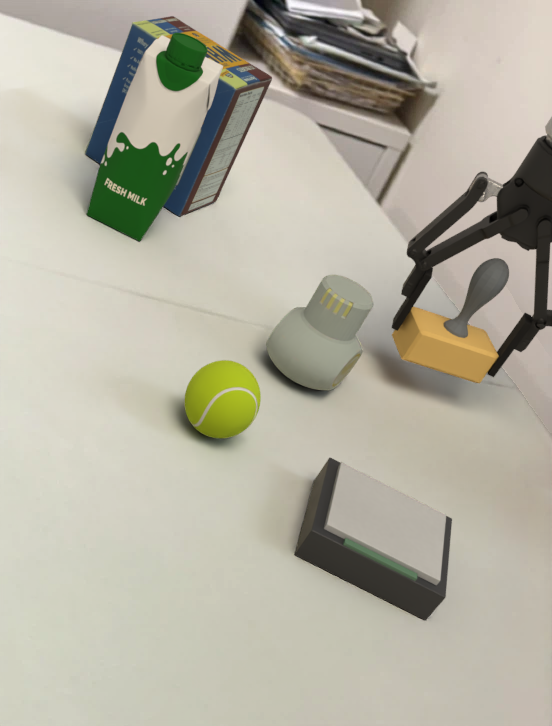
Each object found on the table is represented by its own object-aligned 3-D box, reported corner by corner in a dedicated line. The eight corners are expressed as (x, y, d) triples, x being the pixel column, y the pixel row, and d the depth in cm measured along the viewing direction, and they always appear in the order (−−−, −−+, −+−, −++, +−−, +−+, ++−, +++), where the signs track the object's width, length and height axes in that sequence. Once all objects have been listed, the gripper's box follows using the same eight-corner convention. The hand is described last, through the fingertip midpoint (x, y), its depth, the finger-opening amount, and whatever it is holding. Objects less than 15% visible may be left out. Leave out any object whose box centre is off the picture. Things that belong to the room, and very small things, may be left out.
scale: (433, 541, 105) (456, 513, 103) (425, 621, 96) (450, 592, 94) (313, 481, 105) (333, 451, 103) (294, 555, 96) (315, 524, 94)
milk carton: (76, 214, 126) (146, 27, 111) (97, 189, 132) (166, 9, 117) (145, 248, 126) (223, 66, 111) (162, 221, 132) (239, 46, 117)
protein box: (123, 141, 144) (172, 14, 133) (217, 202, 141) (275, 77, 130) (82, 153, 137) (130, 20, 126) (179, 218, 134) (238, 87, 123)
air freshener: (288, 338, 123) (335, 256, 116) (349, 378, 121) (400, 298, 114) (248, 366, 116) (295, 280, 108) (312, 409, 114) (364, 325, 107)
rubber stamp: (466, 357, 126) (533, 261, 117) (480, 385, 122) (550, 288, 113) (390, 333, 124) (453, 233, 115) (402, 360, 120) (468, 259, 111)
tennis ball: (247, 459, 104) (283, 398, 99) (182, 447, 101) (216, 384, 96) (227, 413, 108) (261, 353, 103) (164, 401, 106) (196, 338, 101)
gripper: (465, 108, 103) (344, 314, 119) (689, 217, 103) (538, 409, 119) (467, 88, 108) (351, 288, 124) (680, 192, 108) (537, 379, 124)
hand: (443, 347), depth 122 cm, fingers closed on rubber stamp, 11 cm apart
